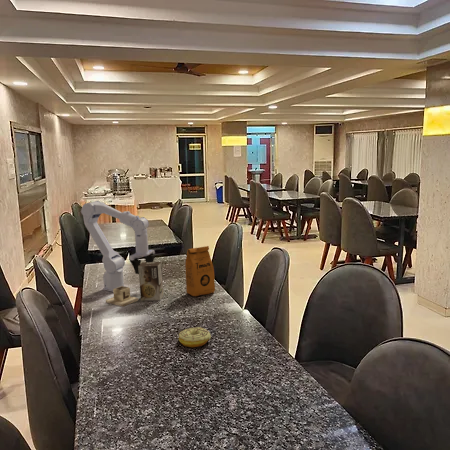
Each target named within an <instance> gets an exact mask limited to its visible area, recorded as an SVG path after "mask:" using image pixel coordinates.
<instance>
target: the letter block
mask: <svg viewBox="0 0 450 450" xmlns="http://www.w3.org/2000/svg"><path fill="white" fill-rule="evenodd" d="M124 286H125V285H124ZM124 286H120V287H118V288H115V289H113V292H112V293H113V297H114V300H116V301H120V302H123V301H125V300H128V299H130V296H131V288H130V287H129V286H126V287H124Z"/></svg>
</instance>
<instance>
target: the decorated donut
mask: <svg viewBox="0 0 450 450" xmlns="http://www.w3.org/2000/svg"><path fill="white" fill-rule="evenodd" d="M211 338H212V335H211V332H210V331H208V330H207V329H206V328H204V327H200V326H199V327H188V328H186V329H184V330H181V331H180V332H179V333H178V341H179V342H180V344H182V345H183V347H188V348H196V347H198V348H199V347H202V346H204V345H206V344H207V343H208V341H209V340H211Z"/></svg>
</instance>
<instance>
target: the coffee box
mask: <svg viewBox="0 0 450 450" xmlns="http://www.w3.org/2000/svg"><path fill="white" fill-rule="evenodd" d="M138 270H139V274H138V278H139V279H138V280H139V292H140V293H139V294H140V295H139V296H140V301H142V302H143V301H144V302H145V301H161V300H162V299H163V297H164V285H163V269H162V262H161V261H153V262H146V261H143V262H142V261H141V263H140V265H139V266H138Z"/></svg>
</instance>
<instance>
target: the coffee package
mask: <svg viewBox="0 0 450 450" xmlns="http://www.w3.org/2000/svg"><path fill="white" fill-rule="evenodd" d="M209 246H210V245H207V246H205V245H204V246H201V247H200V246H199V247H193V248H188V249H187V251H186V256H185V266H184V267H185V285H186V286H185V289H186V294H189V295H190V296H193V297H198V296H203V295H209V294H214V293H215V291H216V286H215V285H216V282H215V269H214V268H215V267H214V264H213V261H212V259H211V255H210V251H209V250H210V247H209Z"/></svg>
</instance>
